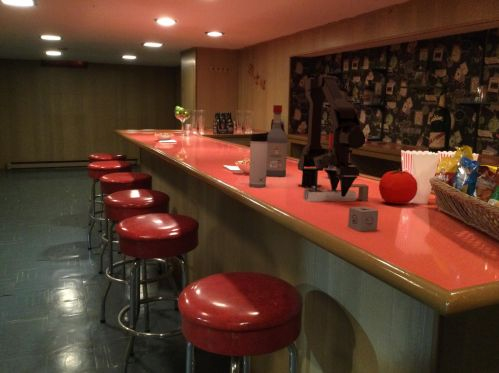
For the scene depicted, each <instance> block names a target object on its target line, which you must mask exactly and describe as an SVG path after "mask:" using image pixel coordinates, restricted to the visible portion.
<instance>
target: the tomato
mask: <svg viewBox="0 0 499 373" xmlns="http://www.w3.org/2000/svg"><path fill="white" fill-rule="evenodd" d="M413 176H414V175H413V174H412V173H410V172H408V171H405V170H401V168H399V169H397V170H389V171H387V172H386V173H384V174H383V175H382V176H381V178H380V180H379V183H378V191H379V194H380V196H381V198H382V200H384V202H386V203H389V204H394V205H397V204H398V205H400V204H401V205H402V204H407V203H410V202H411V201H412V200H413V199H414V198H415V197H416V196H417V194H418V181H417V178H415V177H413Z"/></svg>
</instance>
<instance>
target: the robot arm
mask: <svg viewBox="0 0 499 373" xmlns="http://www.w3.org/2000/svg"><path fill="white" fill-rule="evenodd" d="M304 89H305V97H306V98H307V101H308V102H309V109H308V110H309V112H308V127H307V128H308V130H307V143H306V144H305V146H304V147H303V149H302V153H301V156H300V158H299V160H298V163H297V170H299V171H302V173H301V174H302V175H301V183H299V184H297V186H298V187H303V188H308V189H311V188H312V186H318V188H319V187H321V186H322V185H321V184H318V181H319V180H318V179H319V178H318V177H319V171H321V172H323V171H324V172H325V173H326V174H328V175H329V177H328V178H329V183H330V188H331V190H338V189H337V188H338V185H339V186H340V190H341V196H342V197H345V196H346V194H347V192H348V190H351V189H350V188H352V187H351V185H352V184H354V182H355V180H356V179H357V178H358V176H360V171H361V170H360V168H359V167H358V166H356V165H352V162H350V159H351V154H353V149H356V150H357V149H360V148H362V147H363V146H364V145H365V143H366V139H367V137H366V135H365V133H364V132H363V131H362V130H361V120H360V118H359V116H358V112H357V110H356V108H355V107H354V104H352V103H351V102H349V101H347V100H346V99H345V97H344V96H343V94H342V91H341V90H340V88H339V86H338V84H337V81H336V77H335V76H332V75H320V76H318V77H309V78H308V80H306V81H305V84H304ZM325 101H327V102H328V104H329V106H330V112H329V117H330V121H331V123H332V124H333V125H334V127H332V131H333V144H332V148H330V149H329V152H328V153H326V149H325V148H323V146H322V144H321V143H322V140H321V139H322V128H323V126H322V123H323V111H324V108H323V107H324V103H325ZM328 175H327V176H328ZM339 183H340V184H339Z"/></svg>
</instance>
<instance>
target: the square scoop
mask: <svg viewBox="0 0 499 373" xmlns="http://www.w3.org/2000/svg"><path fill="white" fill-rule="evenodd" d="M303 199H304V200H305V201H306V202H308V203H309V202H310V203H311V202H315V203H318V202H319V203H321V202H322V203H323V202H326V201H327V202H331V201H332V202H356V200H357V191H355V190H354V189H349V190H348V192H347V194H346V196H345V197H342V196H341V189H336V190H332V189H321V188H318V192H311V188H304V189H303Z"/></svg>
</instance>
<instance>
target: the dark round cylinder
mask: <svg viewBox="0 0 499 373" xmlns="http://www.w3.org/2000/svg"><path fill="white" fill-rule="evenodd" d="M310 189H311V192H318V189H319V187H318V186H312V188H310Z"/></svg>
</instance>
